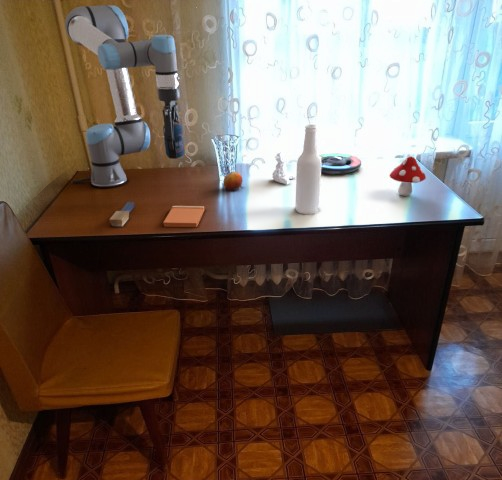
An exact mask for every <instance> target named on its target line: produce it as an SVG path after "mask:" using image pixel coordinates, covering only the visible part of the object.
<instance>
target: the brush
mask: <svg viewBox="0 0 502 480" xmlns="http://www.w3.org/2000/svg"><path fill="white" fill-rule="evenodd" d="M134 207H135V202H134V201H127V203H126V204H124V206H123V207H122V208H121V210H116V211H115V212H114V213H113V214H112V216H110V218H109V224H110V225H111V227H124V225H125V224H126V223H127V222H128V220H129V217H130V213H131V211H132V210H133V208H134Z"/></svg>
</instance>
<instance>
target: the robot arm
mask: <svg viewBox="0 0 502 480" xmlns="http://www.w3.org/2000/svg"><path fill="white" fill-rule="evenodd" d="M64 29H65V32H66V34H67V36H68V37H69V39H70V40H71V41H72V42H73V43H75V44H77V45H78V46H83V47H85V48H86V49H88V50H89V51H91V52H92V53H93V54H94V55H96V56H97V59H98V62H99V64H100V66H101V67H102V69H103V70H105V71H106V75H107V81H108V84H109V89H110V95H111V98H112V101H113V106H114V110H115V114H116V118H115V120H114V121H113V122H114V125H113V124H112V123H99V124H95V125H93V126H90V127H89V128H87V129H86V131H85V139H86V145H87V149H88V152H89V154H88V155H89V157H90V162H91V173H90V177H86V178H82V179H78V180H73V181H72V182H73V184H78V183H82V182H87V181H90V182H91V186H93V187H95V188H99V189H112V188H117V187H121V186H123V185H125V184H126V183H127V182H128V178H127V175H126V173H125V171H124V169H123V166H122V165H121V162H120V156H125V155H131V154H135V153H141V152H143V151H147V150H148V148H149V147H150V143H151V131H150V127H149V126H148V123H147V122H145V121H143V119H142V116H141V115H139V114H138V112H137V107H136V102H135V98H134V94H133V88H132V84H131V79H130V74H129V70H128V69H129V68H130V69H131V68H138V67H139V68H140V67H147V66H154V73H155V82H156V87H157V97H158V98H157V99H158V100H159V101H160V102H164V106H163V109H162V111H161V112H162V116H163V127H164V128H165V140H167V142H168V150H169V157H168V159H173V160H177V153H176V143H175V140H174V122H176V121H179V122H180V116H179V104H178V102H177V101H179V100H180V98H181V94H180V88H179V85H180V84H179V80H180V76H178V75H179V74H178V62H177V52H176V51H177V48H176V43H175V38H174V36H173V35H171V34H156V35H155V34H154V35H152V36H151V39H149V38H148V39H141V40H136V41H126V40H128V38H129V34H130V33H129V31H130V30H129V25H128V21H127V18H126V16H125V14H124V11H122V9H121V8H120V7H118V6H117V5H110V4H109V5H108V4H103V5H87V6H86V5H85V6H84V5H83V6H78V7H74V8H73V9H71V10H70V11H69V12H68V13H67V15H66V17H65V21H64Z"/></svg>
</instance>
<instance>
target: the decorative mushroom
mask: <svg viewBox="0 0 502 480" xmlns="http://www.w3.org/2000/svg"><path fill="white" fill-rule="evenodd" d="M389 178H390V179H392V180H394V181H396V182H400V184H399V187H398V189H397V194H399V195H400V196H403V197H404V196H410V195H412V193H413V184H418V183H421V182H423V181H425V180H426V178H427V177H426V173H425V172H424V170H423V168H421V167H420V165H419V164H418V162H417V159H416V158H415V157H413V156H408V157H406V158H405V159H404V160H403V161H402V162H401V163H400V164H399V165H397V166H395V167H394V168H393V170H392V171H391V172H390V173H389Z"/></svg>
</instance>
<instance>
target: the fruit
mask: <svg viewBox="0 0 502 480" xmlns="http://www.w3.org/2000/svg"><path fill="white" fill-rule="evenodd" d="M242 185H243V176H242V175H241V174H240V173H239V172H238V171H232V172H230V173H228V174H226V175H225V176H224V178H223V186H224V188H225V189H226V190H227V191H231V192H234V191H240V188H243V187H242Z"/></svg>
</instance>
